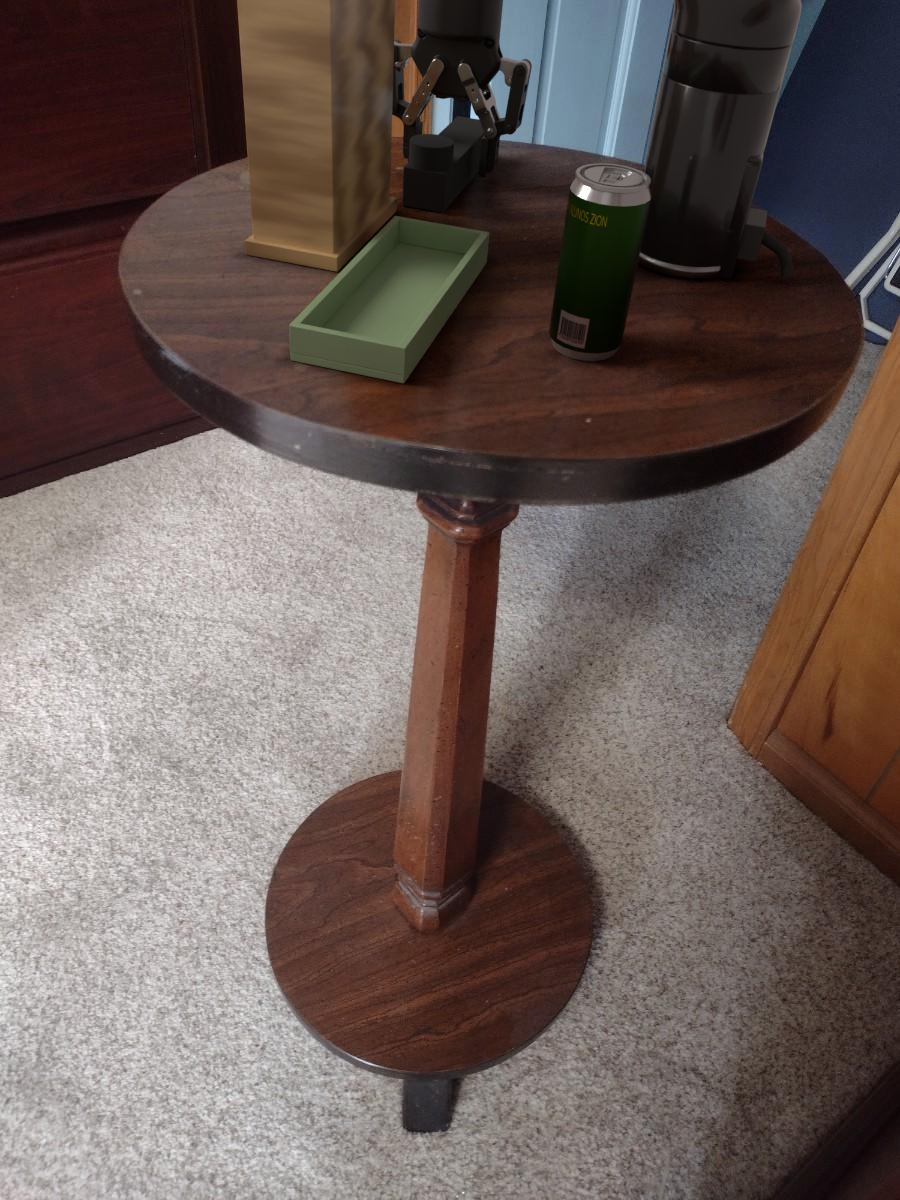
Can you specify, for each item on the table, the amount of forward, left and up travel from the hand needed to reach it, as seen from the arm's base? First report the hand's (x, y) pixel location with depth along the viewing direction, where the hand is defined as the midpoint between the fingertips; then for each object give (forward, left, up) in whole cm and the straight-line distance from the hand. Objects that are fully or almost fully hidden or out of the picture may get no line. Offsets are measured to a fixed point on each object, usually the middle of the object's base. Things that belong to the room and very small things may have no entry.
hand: (449, 169), depth 95 cm
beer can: (-19, +30, -1) cm, 36 cm away
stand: (+6, +18, -1) cm, 19 cm away
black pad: (0, 0, -1) cm, 1 cm away
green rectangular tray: (-5, +30, -1) cm, 30 cm away
